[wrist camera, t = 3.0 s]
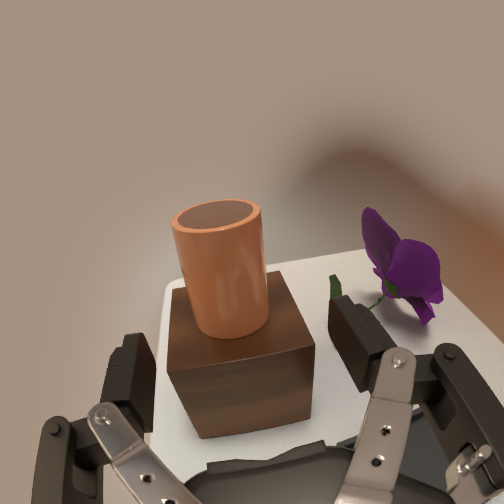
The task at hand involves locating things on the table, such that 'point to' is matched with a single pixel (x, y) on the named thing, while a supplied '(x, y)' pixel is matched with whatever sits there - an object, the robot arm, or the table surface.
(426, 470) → the tray
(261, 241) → the cup
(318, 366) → the table surface
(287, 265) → the table surface
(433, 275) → the flower
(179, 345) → the block
